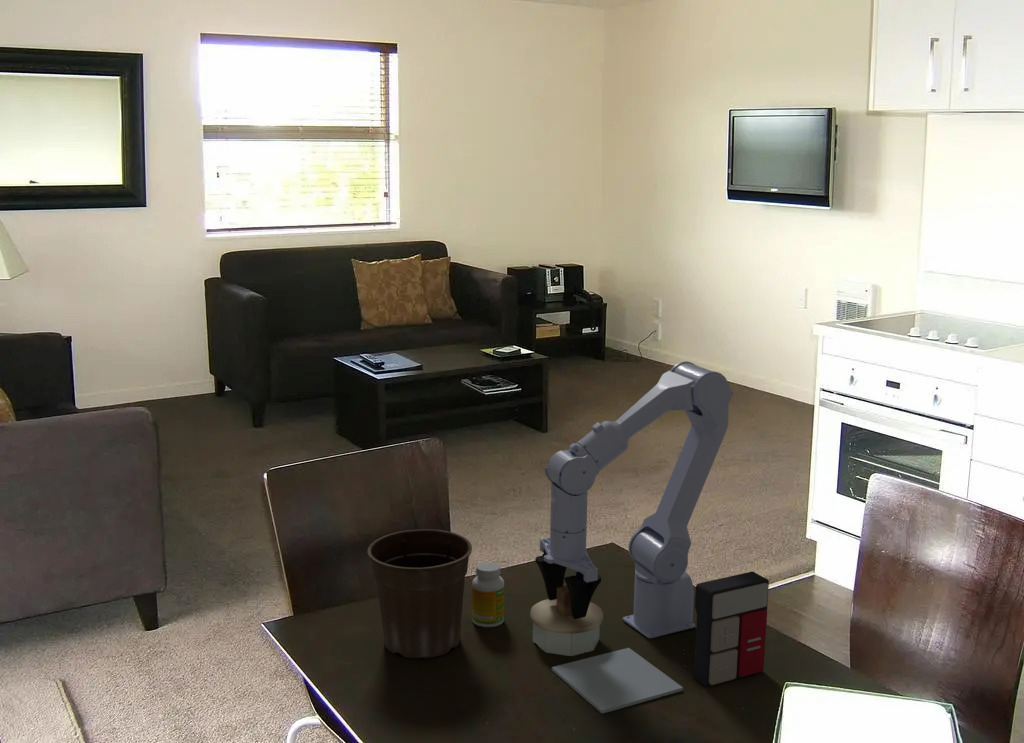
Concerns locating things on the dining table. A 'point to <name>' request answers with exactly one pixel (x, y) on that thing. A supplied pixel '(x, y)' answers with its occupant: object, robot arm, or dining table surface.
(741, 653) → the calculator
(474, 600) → the supplement bottle
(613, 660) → the mat
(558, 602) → the lid
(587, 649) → the bowl
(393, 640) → the plant pot
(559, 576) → the robot arm
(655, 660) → the dining table surface
